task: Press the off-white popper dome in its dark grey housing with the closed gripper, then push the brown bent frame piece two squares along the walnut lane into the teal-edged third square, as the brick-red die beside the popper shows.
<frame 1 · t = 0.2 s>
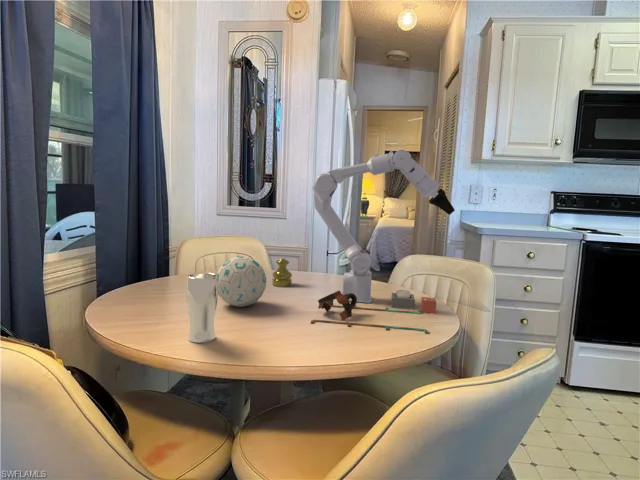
hand: (451, 211, 129), 31 cm above the table, tool tilted 45°, fingers open, 7 cm apart
gold chess piece: (281, 285, 154), on the table
die: (427, 311, 125), on the table
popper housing: (402, 305, 131), on the table
brown bent frame piece: (338, 315, 118), on the table
puzzle ball: (240, 306, 124), on the table
beer glass: (202, 339, 95), on the table
dome: (403, 295, 131), point 3 cm above the table, slide at 0.0 cm
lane: (369, 317, 117), on the table
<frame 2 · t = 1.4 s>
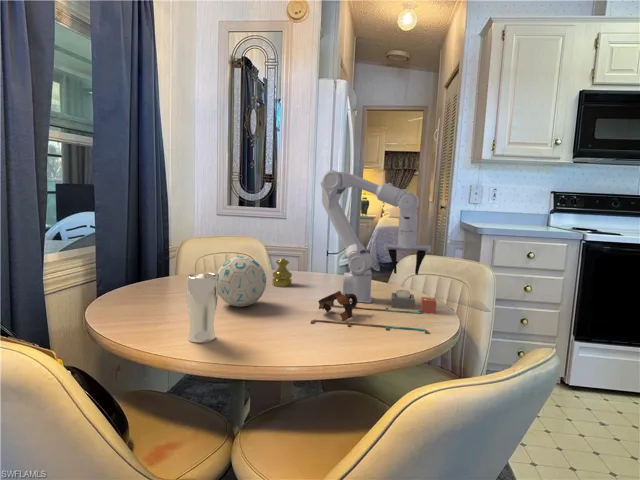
hand: (405, 273, 130), 10 cm above the table, tool pointing down, fingers open, 6 cm apart
nothing on the table moved.
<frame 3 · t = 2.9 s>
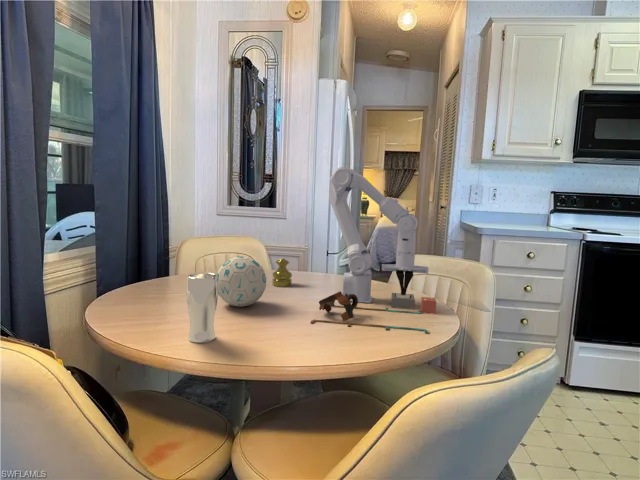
hand: (403, 294, 131), 4 cm above the table, tool pointing down, fingers closed, pressing on dome
dome: (402, 298, 131), point 2 cm above the table, slide at -1.1 cm, touching gripper
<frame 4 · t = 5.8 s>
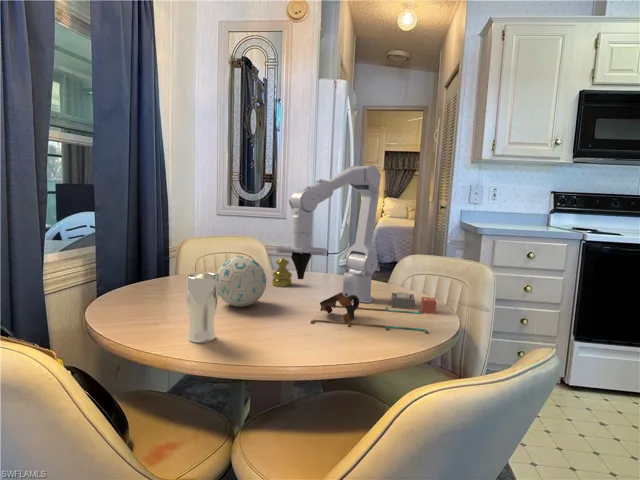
hand: (300, 278, 119), 10 cm above the table, tool pointing down, fingers closed
brown bent frame piece: (340, 318, 116), on the table
dome: (402, 298, 131), point 2 cm above the table, slide at -0.8 cm
everything else where it was.
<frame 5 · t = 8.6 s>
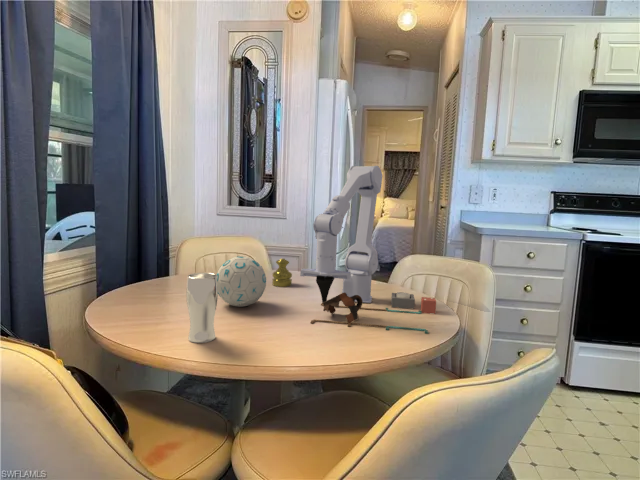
hand: (324, 301, 119), 3 cm above the table, tool pointing down, fingers closed
brown bent frame piece: (343, 318, 116), on the table, touching gripper
everything else where it was.
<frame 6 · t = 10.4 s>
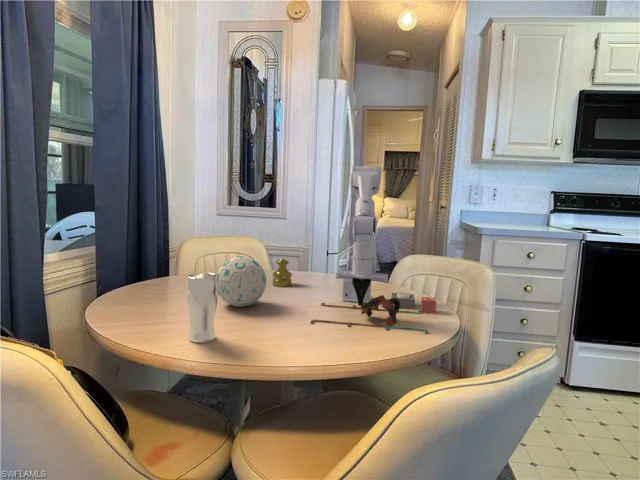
hand: (360, 304, 117), 3 cm above the table, tool pointing down, fingers closed
brown bent frame piece: (381, 321, 114), on the table, touching gripper
everything else where it was.
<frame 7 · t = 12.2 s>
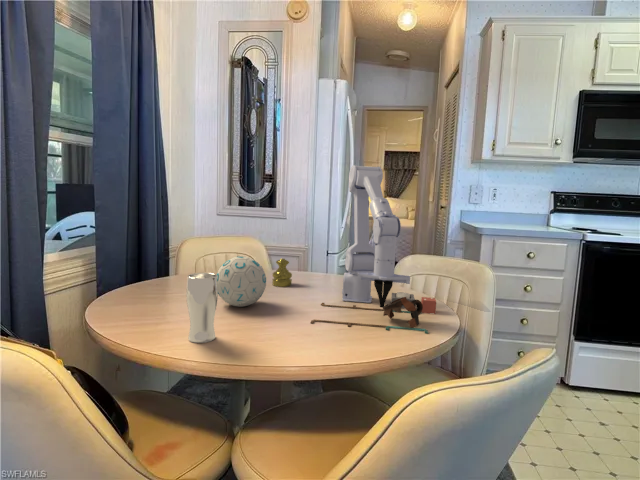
hand: (381, 306, 116), 3 cm above the table, tool pointing down, fingers closed
brown bent frame piece: (404, 323, 113), on the table, touching gripper
everything else where it was.
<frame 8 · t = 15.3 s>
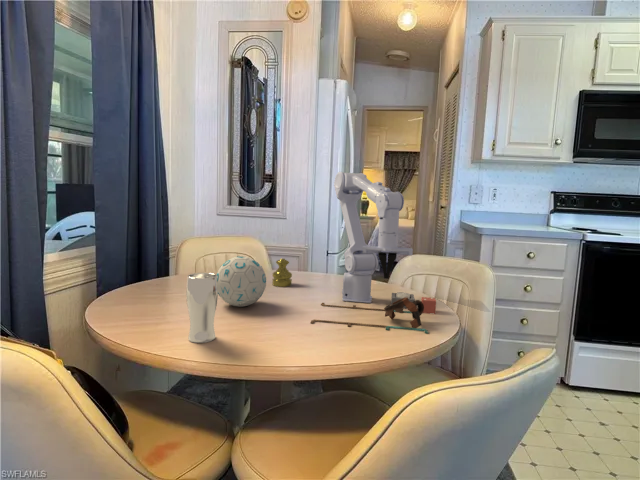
hand: (386, 277, 122), 10 cm above the table, tool pointing down, fingers closed
brown bent frame piece: (405, 324, 113), on the table
everything else where it was.
at the end: brown bent frame piece inside the target area (2.6 cm from its centre), on the table; brown bent frame piece tilted 1°; brown bent frame piece moved 19.3 cm from its start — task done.
